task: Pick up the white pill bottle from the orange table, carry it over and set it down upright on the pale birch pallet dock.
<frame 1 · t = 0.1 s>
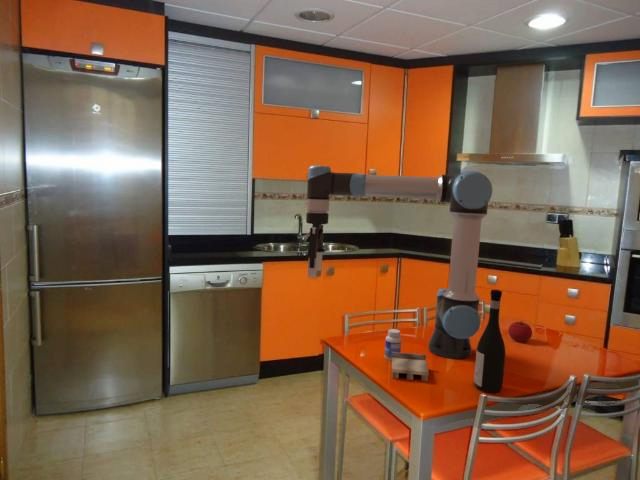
hand: (314, 273, 160), 28 cm above the table, fingers open, 13 cm apart
wine bottle: (487, 388, 140), on the table
dock: (408, 372, 149), on the table
tomato: (519, 341, 186), on the table
pill bottle: (392, 358, 161), on the table
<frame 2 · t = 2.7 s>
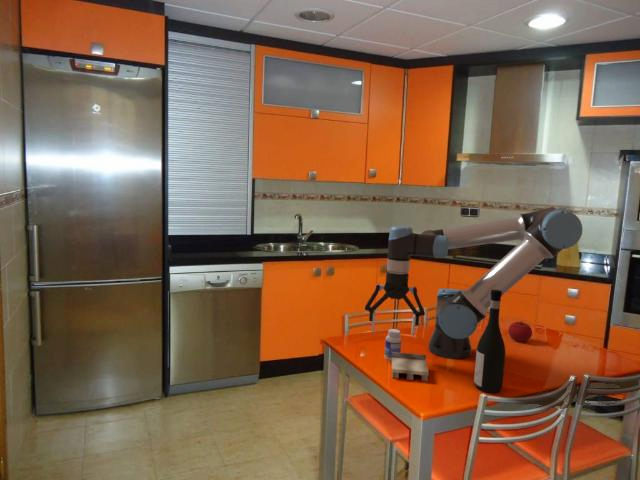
hand: (392, 332, 160), 9 cm above the table, fingers open, 13 cm apart
nothing on the table moved.
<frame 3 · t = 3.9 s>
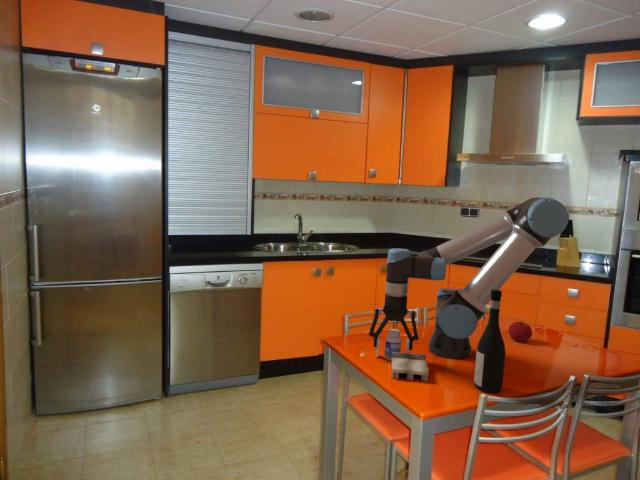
hand: (392, 357, 161), 0 cm above the table, fingers open, 9 cm apart
nothing on the table moved.
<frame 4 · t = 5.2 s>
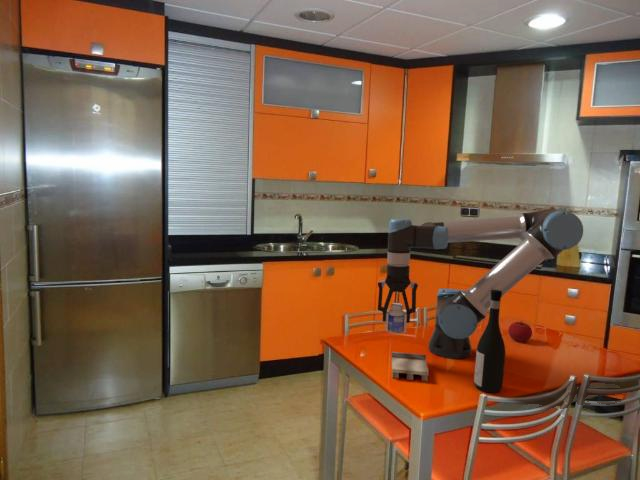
hand: (395, 331, 160), 10 cm above the table, fingers closed on pill bottle, 5 cm apart
pill bottle: (395, 332, 160), point 9 cm above the table, touching gripper
everything else where it was.
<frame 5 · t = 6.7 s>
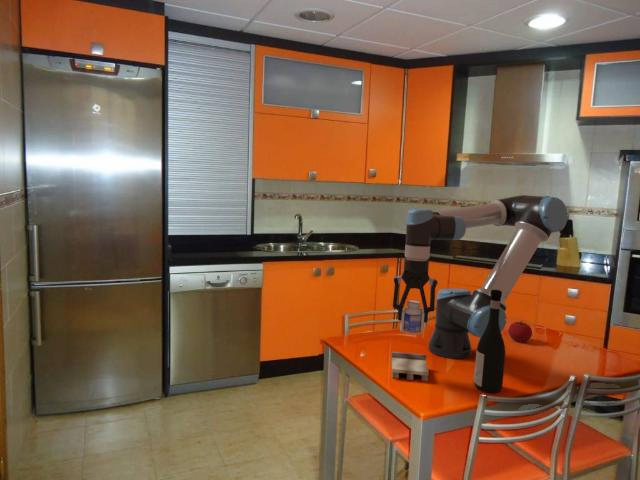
hand: (411, 331, 147), 14 cm above the table, fingers closed on pill bottle, 5 cm apart
pill bottle: (411, 332, 147), point 13 cm above the table, touching gripper
everything else where it was.
when the fingers open (5 cm above the table, at t = 8.5 s): pill bottle drops 1 cm, resting on dock.
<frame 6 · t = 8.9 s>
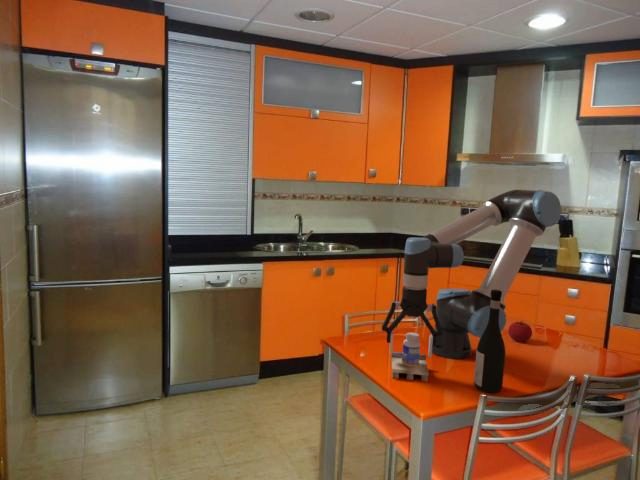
hand: (410, 354, 148), 6 cm above the table, fingers open, 11 cm apart
pill bottle: (410, 364, 148), point 3 cm above the table, touching dock
everything else where it was.
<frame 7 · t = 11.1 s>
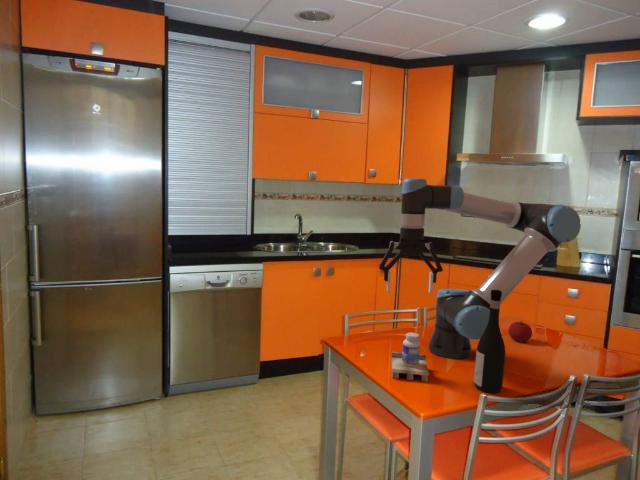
hand: (409, 292, 152), 25 cm above the table, fingers open, 13 cm apart
nothing on the table moved.
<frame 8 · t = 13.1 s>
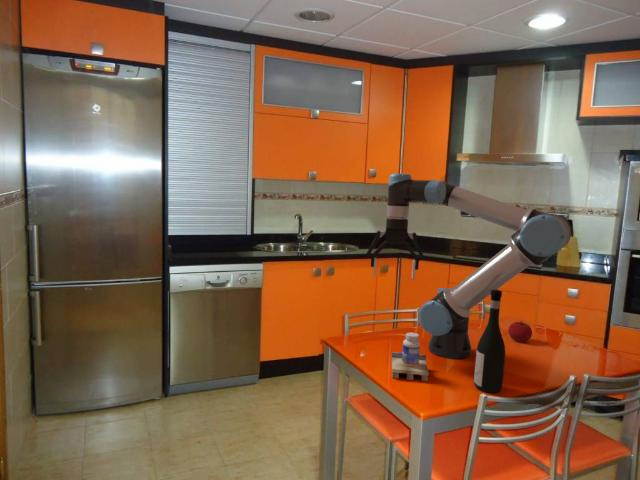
hand: (393, 277, 166), 27 cm above the table, fingers open, 13 cm apart
nothing on the table moved.
at the end: pill bottle inside the target area on the dock (0.2 cm from its centre), point 2.8 cm above the dock's base; pill bottle tilted 0°; the gripper is holding nothing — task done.
